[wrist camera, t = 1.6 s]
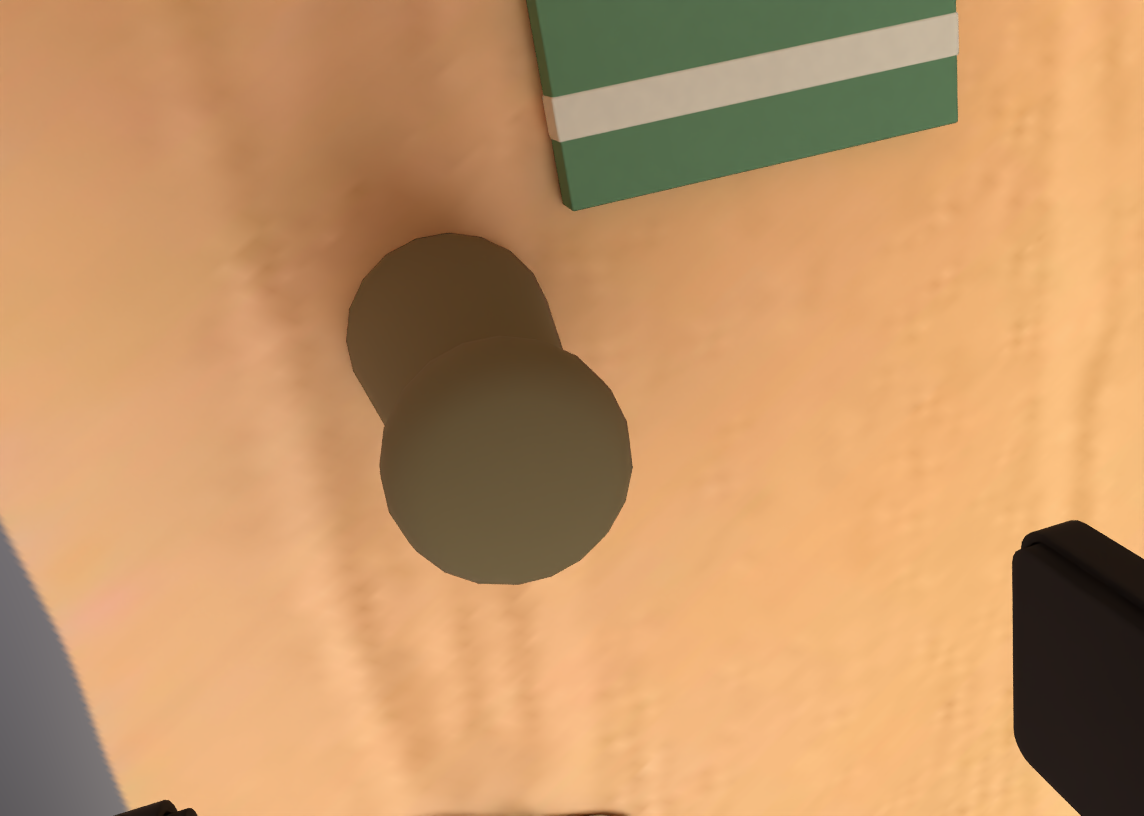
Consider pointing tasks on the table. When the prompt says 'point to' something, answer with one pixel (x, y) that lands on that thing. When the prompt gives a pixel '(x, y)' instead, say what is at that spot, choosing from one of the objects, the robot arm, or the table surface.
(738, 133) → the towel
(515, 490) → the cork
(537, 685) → the table surface
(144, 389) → the table surface
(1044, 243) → the table surface
